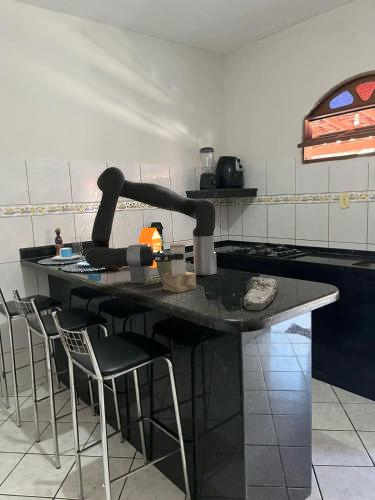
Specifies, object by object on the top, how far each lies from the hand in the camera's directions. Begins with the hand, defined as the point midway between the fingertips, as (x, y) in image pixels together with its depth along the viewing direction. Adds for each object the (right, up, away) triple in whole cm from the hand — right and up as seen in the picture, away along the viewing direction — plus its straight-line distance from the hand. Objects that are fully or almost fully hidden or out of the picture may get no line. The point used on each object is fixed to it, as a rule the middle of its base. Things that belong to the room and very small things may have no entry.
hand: (183, 255), depth 144 cm
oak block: (-2, -13, +2) cm, 13 cm away
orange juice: (-17, -7, +54) cm, 58 cm away
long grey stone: (+27, -14, -14) cm, 33 cm away
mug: (-6, -12, +14) cm, 19 cm away
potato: (-35, -8, +46) cm, 58 cm away
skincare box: (-18, -12, +17) cm, 28 cm away
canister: (-2, -7, +1) cm, 7 cm away
